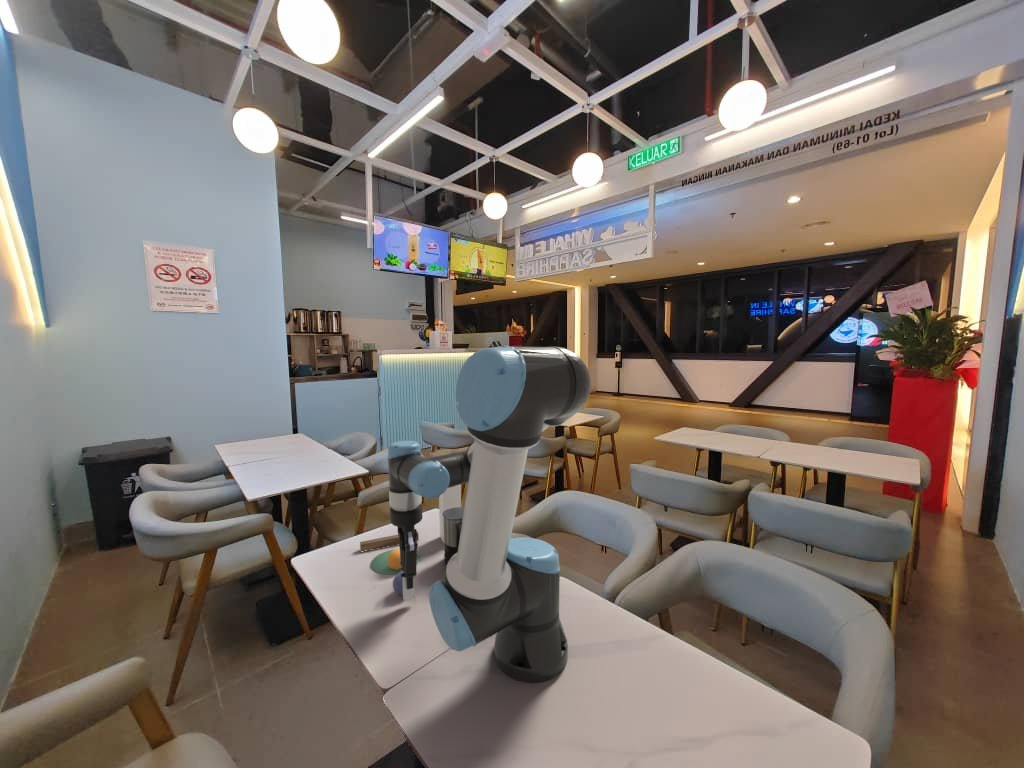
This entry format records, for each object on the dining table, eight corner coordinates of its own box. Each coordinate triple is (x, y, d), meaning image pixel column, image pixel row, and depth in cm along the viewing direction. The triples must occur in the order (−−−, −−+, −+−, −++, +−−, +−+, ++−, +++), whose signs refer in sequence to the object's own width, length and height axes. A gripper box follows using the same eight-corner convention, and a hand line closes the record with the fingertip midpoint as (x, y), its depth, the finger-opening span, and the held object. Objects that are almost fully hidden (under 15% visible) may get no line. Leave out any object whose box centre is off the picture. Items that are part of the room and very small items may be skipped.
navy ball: (411, 564, 105) (411, 581, 106) (390, 570, 102) (391, 587, 104) (416, 577, 100) (417, 595, 102) (394, 584, 98) (395, 602, 99)
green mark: (423, 566, 115) (423, 566, 115) (373, 578, 109) (372, 578, 109) (414, 545, 127) (414, 545, 127) (368, 555, 121) (368, 554, 121)
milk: (461, 540, 130) (461, 476, 128) (443, 544, 128) (442, 478, 126) (456, 533, 136) (455, 470, 134) (439, 536, 134) (438, 473, 132)
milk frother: (437, 559, 119) (436, 511, 118) (480, 542, 129) (479, 498, 128) (463, 580, 108) (462, 527, 107) (507, 560, 118) (507, 512, 117)
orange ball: (405, 543, 116) (404, 555, 118) (386, 547, 114) (385, 560, 116) (409, 558, 112) (408, 571, 114) (389, 562, 109) (388, 576, 112)
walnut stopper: (418, 540, 131) (418, 533, 131) (360, 552, 123) (360, 544, 123) (417, 537, 133) (417, 530, 132) (360, 549, 125) (360, 542, 125)
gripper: (427, 512, 91) (430, 609, 93) (416, 494, 103) (419, 580, 105) (394, 518, 88) (397, 618, 90) (386, 498, 99) (389, 587, 101)
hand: (409, 598), depth 97 cm, fingers closed
